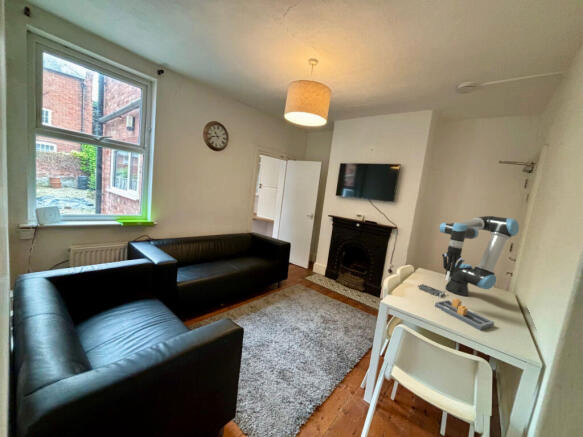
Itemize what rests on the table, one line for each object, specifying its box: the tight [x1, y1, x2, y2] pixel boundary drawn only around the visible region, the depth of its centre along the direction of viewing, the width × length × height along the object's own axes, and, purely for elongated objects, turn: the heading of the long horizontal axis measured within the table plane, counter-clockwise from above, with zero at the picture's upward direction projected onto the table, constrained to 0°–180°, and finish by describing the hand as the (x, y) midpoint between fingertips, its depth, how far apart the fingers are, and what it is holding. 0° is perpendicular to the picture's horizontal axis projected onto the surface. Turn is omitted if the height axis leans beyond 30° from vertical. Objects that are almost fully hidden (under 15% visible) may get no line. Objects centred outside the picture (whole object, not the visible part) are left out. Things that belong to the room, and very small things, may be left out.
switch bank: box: [434, 299, 495, 331], centre depth 142 cm, size 14×26×3 cm, turn 25°
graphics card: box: [417, 283, 446, 298], centre depth 175 cm, size 17×4×12 cm
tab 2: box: [457, 305, 469, 316], centre depth 139 cm, size 4×3×5 cm
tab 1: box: [451, 298, 463, 308], centre depth 148 cm, size 4×3×5 cm
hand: (447, 280), depth 153 cm, fingers closed
